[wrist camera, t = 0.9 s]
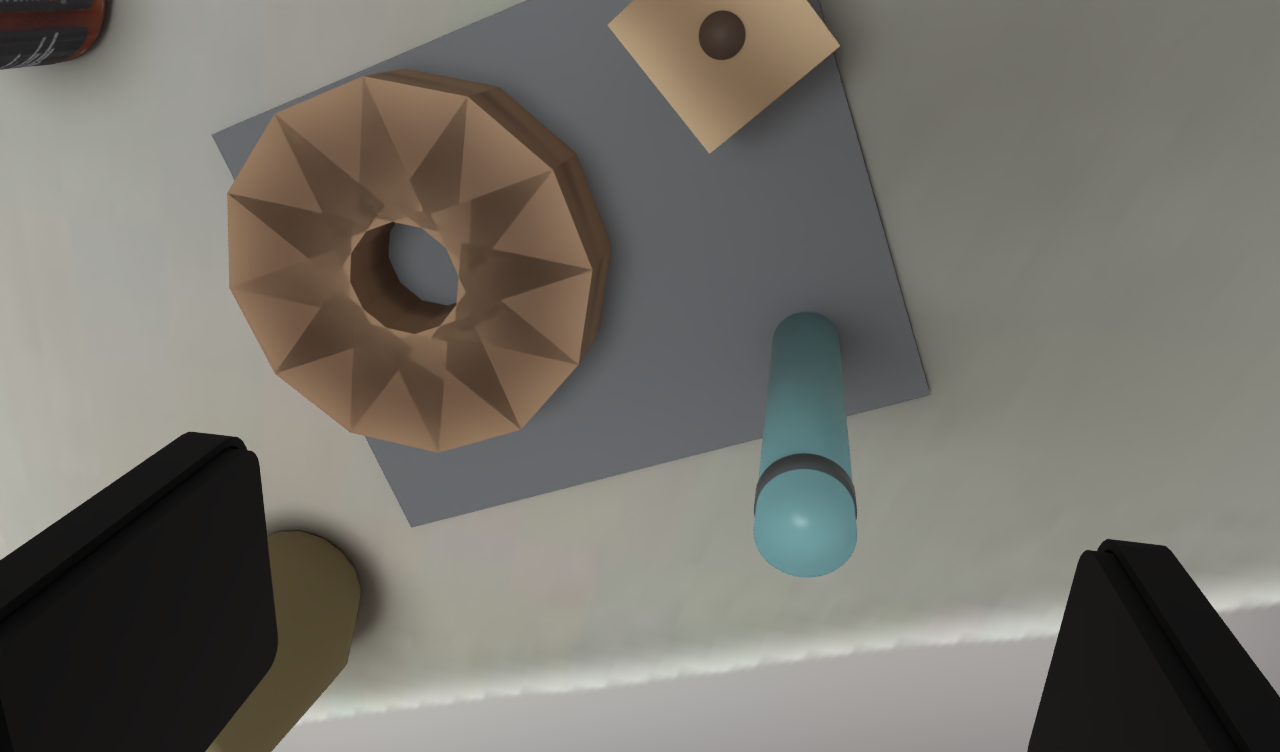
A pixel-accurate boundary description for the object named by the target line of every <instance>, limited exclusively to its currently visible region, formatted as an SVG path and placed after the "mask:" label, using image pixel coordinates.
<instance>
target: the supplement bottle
mask: <svg viewBox="0 0 1280 752" xmlns="http://www.w3.org/2000/svg"><path fill="white" fill-rule="evenodd" d="M105 4H106V1H105V0H0V69H10V68H19V67H28V66H39V65H49V64H55V63H60V62H65V61H68V60H72V59H74V58H76V57H77V56H80V55H81V54H83V53H84V52H85V51H86V50H88V49H89V48H90V47H91V46H92V44H93V43H94V42H95V40H96V39H97V37H98V35H99V33H100V30H101V27H102V23H103V20H104V15H105Z"/></svg>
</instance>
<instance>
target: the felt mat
mask: <svg viewBox="0 0 1280 752" xmlns="http://www.w3.org/2000/svg"><path fill="white" fill-rule="evenodd" d="M632 1H633V0H527V1H524V2H522V3H520V4H517V5H515V6H513V7H510V8H508V9H506V10H503V11H501V12H499V13H496V14H494V15H491V16H489V17H487V18H484V19H482V20H480V21H477V22H475V23H473V24H470V25H468V26H466V27H463V28H461V29H459V30H456V31H454V32H452V33H449V34H447V35H445V36H442V37H440V38H438V39H435V40H433V41H431V42H428V43H426V44H424V45H421V46H419V47H416V48H414V49H412V50H409V51H407V52H405V53H402V54H400V55H398V56H395V57H393V58H391V59H388V60H386V61H384V62H381V63H379V64H377V65H374V66H372V67H370V68H367V69H365V70H363V71H360V72H358V73H356V74H353V75H351V76H349V77H346V78H344V79H342V80H339V81H337V82H334V83H332V84H330V85H327V86H325V87H323V88H320V89H318V90H316V91H313V92H311V93H309V94H306V95H304V96H302V97H299V98H297V99H295V100H292V101H290V102H288V103H285V104H283V105H281V106H278V107H276V108H274V109H271V110H269V111H267V112H264V113H262V114H259V115H257V116H255V117H252V118H250V119H248V120H245V121H243V122H241V123H238V124H236V125H234V126H231V127H229V128H227V129H224V130H222V131H220V132H217V133H215V134H213V135H212V137H213V139H214V140H215V142H216V144H217V146H218V148H219V150H220V152H221V154H222V156H223V158H224V160H225V162H226V164H227V166H228V168H229V170H230V172H231V174H232V176H233V178H234V180H235V179H236V178H237V176H238V174H239V173H240V171H241V169H242V168H243V166H244V164H245V163H246V161H247V159H248V158H249V156H250V154H251V153H252V151H253V149H254V148H255V146H256V144H257V142H258V141H259V139H260V137H261V136H262V134H263V132H264V131H265V129H266V127H267V126H268V124H269V122H270V121H271V119H272V117H273V116H274V114H275V113H278V112H280V111H282V110H285V109H287V108H289V107H292V106H294V105H296V104H299V103H301V102H303V101H306V100H308V99H311V98H313V97H315V96H318V95H320V94H322V93H325V92H327V91H329V90H332V89H334V88H336V87H339V86H341V85H344V84H346V83H348V82H351V81H353V80H355V79H358V78H360V77H362V76H366V75H372V74H377V73H382V72H387V71H393V70H398V69H403V68H404V69H410V70H415V71H420V72H425V73H430V74H435V75H441V76H446V77H451V78H456V79H461V80H466V81H471V82H477V83H482V84H487V85H492V86H497V87H500V88H501V89H502V90H503V91H504V92H506V93H507V94H508V95H509V96H510V97H511V98H513V99H514V100H515V101H516V102H517V103H518V104H520V105H521V106H522V107H523V108H524V109H525V110H526V111H528V112H529V113H530V114H531V115H532V116H533V117H535V118H536V119H537V120H538V121H539V122H540V123H542V124H543V125H544V126H545V127H546V128H547V129H548V130H550V131H551V132H552V133H553V134H554V135H555V136H557V137H558V138H559V139H560V140H561V141H562V142H564V143H565V144H566V145H567V146H568V147H569V148H570V149H572V150H573V151H574V152H575V153H576V154H577V157H578V159H579V162H580V165H581V167H582V170H583V172H584V175H585V178H586V180H587V183H588V185H589V188H590V191H591V193H592V196H593V198H594V201H595V204H596V206H597V209H598V211H599V214H600V217H601V219H602V222H603V224H604V227H605V230H606V232H607V235H608V237H609V240H610V243H611V252H610V258H609V265H608V271H607V277H606V284H605V290H604V297H603V303H602V310H601V316H600V323H599V329H598V334H597V335H596V337H595V339H594V340H593V342H592V344H591V345H590V347H589V348H588V350H587V352H586V353H585V355H584V357H583V358H582V360H581V362H580V363H579V365H578V366H577V367H576V368H575V369H574V370H573V371H572V373H571V374H570V375H569V376H568V377H567V378H566V379H565V380H564V382H563V383H562V384H561V385H560V386H559V387H558V388H557V390H556V391H555V392H554V393H553V394H552V395H551V396H550V397H549V399H548V400H547V401H546V402H545V403H544V404H543V405H542V406H541V408H540V409H539V410H538V411H537V412H536V413H535V414H534V415H533V417H532V418H531V419H530V420H529V421H528V422H527V423H526V425H525V426H524V427H523V428H522V429H521V430H518V431H514V432H511V433H507V434H504V435H500V436H496V437H493V438H489V439H486V440H482V441H479V442H475V443H471V444H468V445H464V446H461V447H457V448H454V449H450V450H446V451H443V452H439V453H437V452H433V451H429V450H424V449H420V448H416V447H411V446H407V445H403V444H398V443H394V442H390V441H386V440H381V439H377V438H373V437H368V436H365V437H366V439H367V441H368V443H369V445H370V447H371V449H372V451H373V453H374V455H375V457H376V459H377V461H378V463H379V465H380V467H381V469H382V471H383V473H384V475H385V477H386V479H387V481H388V483H389V485H390V486H391V488H392V490H393V492H394V494H395V496H396V498H397V500H398V502H399V504H400V506H401V508H402V510H403V512H404V514H405V516H406V518H407V520H408V522H409V524H410V526H411V527H415V526H419V525H423V524H427V523H431V522H435V521H439V520H443V519H446V518H450V517H454V516H458V515H462V514H466V513H470V512H474V511H478V510H482V509H486V508H489V507H493V506H497V505H501V504H505V503H509V502H513V501H517V500H521V499H525V498H529V497H533V496H536V495H540V494H544V493H548V492H552V491H556V490H560V489H564V488H568V487H572V486H576V485H580V484H583V483H587V482H591V481H595V480H599V479H603V478H607V477H611V476H615V475H619V474H623V473H626V472H630V471H634V470H638V469H642V468H646V467H650V466H654V465H658V464H662V463H666V462H670V461H673V460H677V459H681V458H685V457H689V456H693V455H697V454H701V453H705V452H709V451H713V450H717V449H720V448H724V447H728V446H732V445H736V444H740V443H744V442H748V441H752V440H756V439H760V438H763V432H764V422H765V412H766V402H767V391H768V381H769V371H770V361H771V351H772V341H773V335H774V332H775V330H776V328H777V327H778V325H779V324H780V323H781V322H782V321H783V320H784V319H786V318H787V317H789V316H791V315H793V314H796V313H800V312H812V313H816V314H819V315H822V316H823V317H825V318H827V319H828V320H829V321H830V322H831V323H832V324H833V325H834V327H835V328H836V330H837V333H838V336H839V344H840V355H841V365H842V376H843V387H844V398H845V409H846V416H850V415H854V414H857V413H861V412H865V411H869V410H873V409H877V408H881V407H885V406H889V405H893V404H897V403H900V402H904V401H908V400H912V399H916V398H920V397H924V396H928V395H930V393H929V389H928V385H927V382H926V378H925V375H924V371H923V368H922V364H921V361H920V357H919V354H918V350H917V347H916V343H915V340H914V336H913V333H912V329H911V325H910V322H909V318H908V315H907V311H906V308H905V304H904V301H903V297H902V294H901V290H900V287H899V283H898V280H897V276H896V272H895V269H894V265H893V262H892V258H891V255H890V251H889V248H888V244H887V241H886V237H885V234H884V230H883V227H882V223H881V220H880V216H879V212H878V209H877V205H876V202H875V198H874V195H873V191H872V188H871V184H870V181H869V177H868V174H867V170H866V167H865V163H864V159H863V156H862V152H861V149H860V145H859V142H858V138H857V135H856V131H855V128H854V124H853V121H852V117H851V114H850V110H849V107H848V103H847V99H846V96H845V92H844V89H843V85H842V82H841V78H840V75H839V71H838V68H837V64H836V61H835V57H834V54H833V52H832V53H831V54H830V55H829V56H828V57H826V58H825V59H824V60H823V61H822V62H820V63H819V64H818V65H817V66H816V67H814V68H813V69H812V70H811V71H809V72H808V73H807V74H806V75H805V76H803V77H802V78H801V79H800V80H799V81H797V82H796V83H795V84H794V85H792V86H791V87H790V88H789V89H788V90H786V91H785V92H784V93H783V94H782V95H780V96H779V97H778V98H777V99H776V100H774V101H773V102H772V103H771V104H769V105H768V106H767V107H766V108H765V109H763V110H762V111H761V112H760V113H759V114H757V115H756V116H755V117H754V118H752V119H751V120H750V121H749V122H748V123H746V124H745V125H744V126H743V127H742V128H740V129H739V130H738V131H737V132H736V133H734V134H733V135H732V136H731V137H729V138H728V139H727V140H726V141H725V142H723V143H722V144H721V145H720V146H719V147H717V148H716V149H715V150H714V151H712V152H711V153H710V154H709V153H708V151H707V150H706V149H705V147H704V146H703V145H702V144H701V142H700V141H699V140H698V139H697V137H696V136H695V135H694V134H693V132H692V131H691V130H690V129H689V127H688V126H687V125H686V124H685V122H684V121H683V120H682V119H681V117H680V116H679V115H678V114H677V112H676V111H675V110H674V108H673V107H672V106H671V105H670V103H669V102H668V101H667V100H666V98H665V97H664V96H663V95H662V93H661V92H660V91H659V90H658V88H657V87H656V86H655V85H654V83H653V82H652V81H651V80H650V78H649V77H648V76H647V75H646V73H645V72H644V71H643V69H642V68H641V67H640V66H639V64H638V63H637V62H636V61H635V59H634V58H633V57H632V56H631V54H630V53H629V52H628V51H627V49H626V48H625V47H624V46H623V44H622V43H621V42H620V41H619V39H618V38H617V37H616V36H615V34H614V33H613V32H612V30H611V29H610V28H609V27H608V24H609V23H610V22H611V21H612V20H613V19H614V18H615V17H616V16H618V15H619V14H620V13H621V12H622V11H623V10H624V9H625V8H626V7H627V6H628V5H629V4H630V3H631V2H632ZM808 2H809V3H810V4H811V6H812V7H813V8H814V10H815V11H816V12H817V14H818V15H819V16H820V18H821V19H822V21H823V22H824V18H823V15H822V11H821V8H820V4H819V1H818V0H808ZM824 23H825V22H824ZM389 259H390V262H391V264H392V266H393V268H394V270H395V272H396V274H397V277H398V279H399V281H400V283H402V284H403V285H404V286H405V287H406V288H408V289H409V290H410V291H411V292H413V293H414V294H415V295H416V296H417V297H419V298H420V299H421V300H424V301H429V302H434V303H438V304H443V305H451V304H454V303H457V291H458V279H459V276H458V274H457V272H456V269H455V267H454V265H453V263H452V260H451V258H450V256H449V254H448V251H447V249H446V248H445V247H444V246H443V245H442V244H440V243H439V242H438V241H437V240H436V239H434V238H433V237H432V236H431V235H430V234H428V233H427V232H426V231H425V230H423V229H422V228H419V227H415V226H410V225H405V224H400V223H395V225H394V226H393V228H392V229H391V230H390V240H389Z"/></svg>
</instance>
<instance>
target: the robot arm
mask: <svg viewBox="0 0 1280 752" xmlns="http://www.w3.org/2000/svg"><path fill="white" fill-rule="evenodd" d="M277 648H278V631H277V622H276V613H275V604H274V595H273V585H272V576H271V567H270V558H269V549H268V540H267V530H266V521H265V512H264V503H263V494H262V484H261V475H260V466H259V461H258V458H257V456H256V454H255V453H254V452H252V451H248V450H247V448H246V446H245V444H244V442H243V441H242V440H241V439H239V438H238V437H232V436H224V435H215V434H206V433H198V432H187V433H185V434H183V435H181V436H180V437H178V438H177V439H175V440H174V441H173V442H171V443H170V444H168V445H167V446H165V447H164V448H162V449H161V450H159V451H158V452H157V453H155V454H154V455H152V456H151V457H149V458H148V459H146V460H145V461H144V462H142V463H141V464H139V465H138V466H136V467H135V468H133V469H132V470H131V471H129V472H128V473H126V474H125V475H123V476H122V477H120V478H119V479H117V480H116V481H115V482H113V483H112V484H110V485H109V486H107V487H106V488H104V489H103V490H102V491H100V492H99V493H97V494H96V495H94V496H93V497H91V498H90V499H88V500H87V501H86V502H84V503H83V504H81V505H80V506H78V507H77V508H75V509H74V510H73V511H71V512H70V513H68V514H67V515H65V516H64V517H62V518H61V519H60V520H58V521H57V522H55V523H54V524H52V525H51V526H49V527H48V528H46V529H45V530H44V531H42V532H41V533H39V534H38V535H36V536H35V537H33V538H32V539H31V540H29V541H28V542H26V543H25V544H23V545H22V546H20V547H19V548H17V549H16V550H15V551H13V552H12V553H10V554H9V555H7V556H6V557H4V558H3V559H2V560H0V752H205V751H206V750H207V749H208V748H209V746H210V745H211V744H212V743H213V741H214V740H215V739H216V738H217V736H218V735H219V734H220V732H221V731H222V730H223V729H224V727H225V726H226V725H227V724H228V722H229V721H230V720H231V718H232V717H233V716H234V715H235V713H236V712H237V711H238V710H239V708H240V707H241V706H242V704H243V703H244V702H245V701H246V699H247V698H248V697H249V696H250V694H251V693H252V692H253V690H254V689H255V688H256V687H257V685H258V684H259V683H260V682H261V680H262V679H263V678H264V677H265V675H266V674H267V673H268V671H269V670H270V668H271V667H272V664H273V662H274V660H275V657H276V653H277ZM1028 752H1280V697H1279V695H1278V694H1277V693H1276V691H1275V690H1274V689H1273V687H1272V686H1271V685H1270V683H1269V682H1268V680H1267V679H1266V678H1265V676H1264V675H1263V674H1262V672H1261V671H1260V670H1259V668H1258V667H1257V666H1256V664H1255V663H1254V662H1253V660H1252V659H1251V658H1250V656H1249V655H1248V654H1247V652H1246V651H1245V650H1244V648H1243V647H1242V646H1241V644H1240V643H1239V642H1238V640H1237V639H1236V637H1235V636H1234V635H1233V633H1232V632H1231V631H1230V629H1229V628H1228V627H1227V625H1226V624H1225V623H1224V621H1223V620H1222V619H1221V617H1220V616H1219V615H1218V613H1217V612H1216V611H1215V609H1214V608H1213V607H1212V605H1211V604H1210V602H1209V601H1208V600H1207V598H1206V597H1205V596H1204V594H1203V593H1202V592H1201V590H1200V589H1199V588H1198V586H1197V585H1196V584H1195V582H1194V581H1193V580H1192V578H1191V577H1190V576H1189V574H1188V573H1187V572H1186V570H1185V569H1184V568H1183V566H1182V565H1181V563H1180V562H1179V561H1178V559H1177V558H1176V557H1175V555H1174V554H1173V553H1172V551H1171V550H1169V549H1168V548H1167V547H1166V546H1162V545H1154V544H1146V543H1137V542H1129V541H1120V540H1112V539H1107V540H1105V541H1103V542H1102V544H1101V545H1100V546H1099V548H1098V550H1097V551H1091V550H1086V551H1085V552H1083V553H1082V555H1081V556H1080V559H1079V562H1078V564H1077V568H1076V572H1075V575H1074V579H1073V583H1072V586H1071V590H1070V594H1069V598H1068V601H1067V605H1066V609H1065V612H1064V616H1063V620H1062V623H1061V627H1060V631H1059V634H1058V638H1057V642H1056V646H1055V649H1054V653H1053V657H1052V661H1051V664H1050V668H1049V672H1048V676H1047V679H1046V683H1045V686H1044V690H1043V693H1042V697H1041V701H1040V705H1039V708H1038V712H1037V716H1036V720H1035V723H1034V727H1033V731H1032V734H1031V738H1030V741H1029V746H1028Z"/></svg>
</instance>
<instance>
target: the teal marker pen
mask: <svg viewBox="0 0 1280 752" xmlns="http://www.w3.org/2000/svg"><path fill="white" fill-rule="evenodd" d="M754 515H755V523H754V539H755V543H756V546H757V548H758V550H759V552H760V553H761V555H762V556H763V558H764V559H765V560H766V561H767V562H768V563H769V564H770V565H772V566H773V567H775V568H776V569H778V570H780V571H782V572H784V573H786V574H789V575H793V576H798V577H816V576H821V575H825V574H828V573H830V572H833V571H834V570H836V569H838V568H839V567H841V566H842V565H843V564H844V563H845V562H846V561H847V560H848V559H849V558H850V556H851V555H852V553H853V551H854V549H855V546H856V542H857V528H856V519H857V507H856V496H855V489H854V485H853V483H852V474H851V463H850V452H849V441H848V430H847V420H846V409H845V398H844V387H843V376H842V365H841V355H840V344H839V336H838V333H837V330H836V328H835V327H834V325H833V324H832V323H831V322H830V321H829V320H828V319H827V318H825V317H823V316H822V315H819V314H816V313H812V312H800V313H796V314H793V315H791V316H789V317H787V318H786V319H784V320H783V321H782V322H781V323H780V324H779V325H778V327H777V328H776V330H775V332H774V335H773V341H772V351H771V361H770V371H769V381H768V391H767V402H766V412H765V422H764V432H763V442H762V452H761V462H760V472H759V481H758V484H757V487H756V494H755V504H754Z"/></svg>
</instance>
